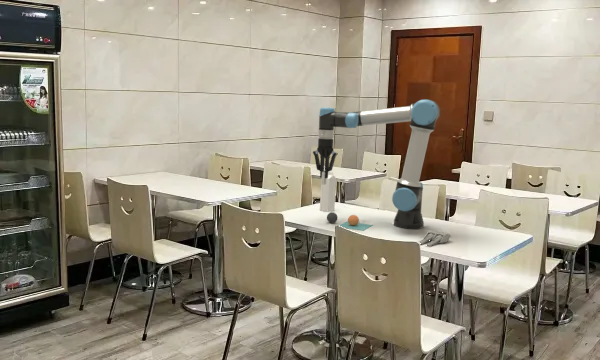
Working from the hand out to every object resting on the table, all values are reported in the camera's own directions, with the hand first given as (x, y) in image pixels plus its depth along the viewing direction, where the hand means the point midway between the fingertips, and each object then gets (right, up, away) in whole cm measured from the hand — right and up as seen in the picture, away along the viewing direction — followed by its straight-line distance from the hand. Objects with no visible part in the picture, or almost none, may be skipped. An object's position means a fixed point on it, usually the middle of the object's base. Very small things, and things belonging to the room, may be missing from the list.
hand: (323, 184), depth 301 cm
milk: (+3, -15, +33) cm, 36 cm away
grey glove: (+49, -27, -32) cm, 64 cm away
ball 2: (+15, -18, -5) cm, 24 cm away
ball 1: (+4, -17, 0) cm, 18 cm away
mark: (+16, -21, -5) cm, 26 cm away
